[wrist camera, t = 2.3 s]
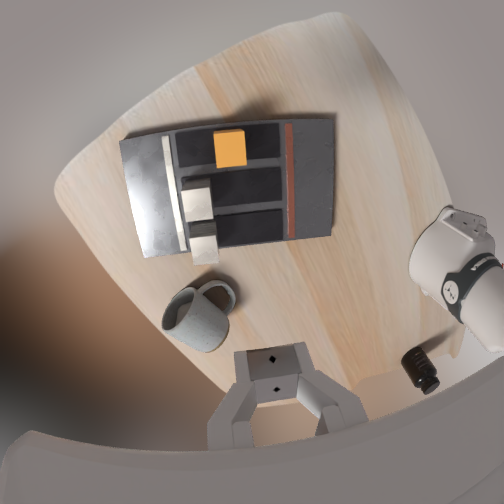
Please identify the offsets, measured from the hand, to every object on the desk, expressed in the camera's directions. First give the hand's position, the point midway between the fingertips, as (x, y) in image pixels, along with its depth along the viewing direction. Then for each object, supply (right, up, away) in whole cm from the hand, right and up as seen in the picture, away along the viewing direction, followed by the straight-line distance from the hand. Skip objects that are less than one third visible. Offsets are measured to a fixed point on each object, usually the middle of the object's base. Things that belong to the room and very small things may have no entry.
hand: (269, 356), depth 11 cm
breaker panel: (-3, +13, +24) cm, 27 cm away
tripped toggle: (-3, +17, +19) cm, 25 cm away
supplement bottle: (+40, -22, +49) cm, 67 cm away
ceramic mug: (-8, -3, +32) cm, 33 cm away
